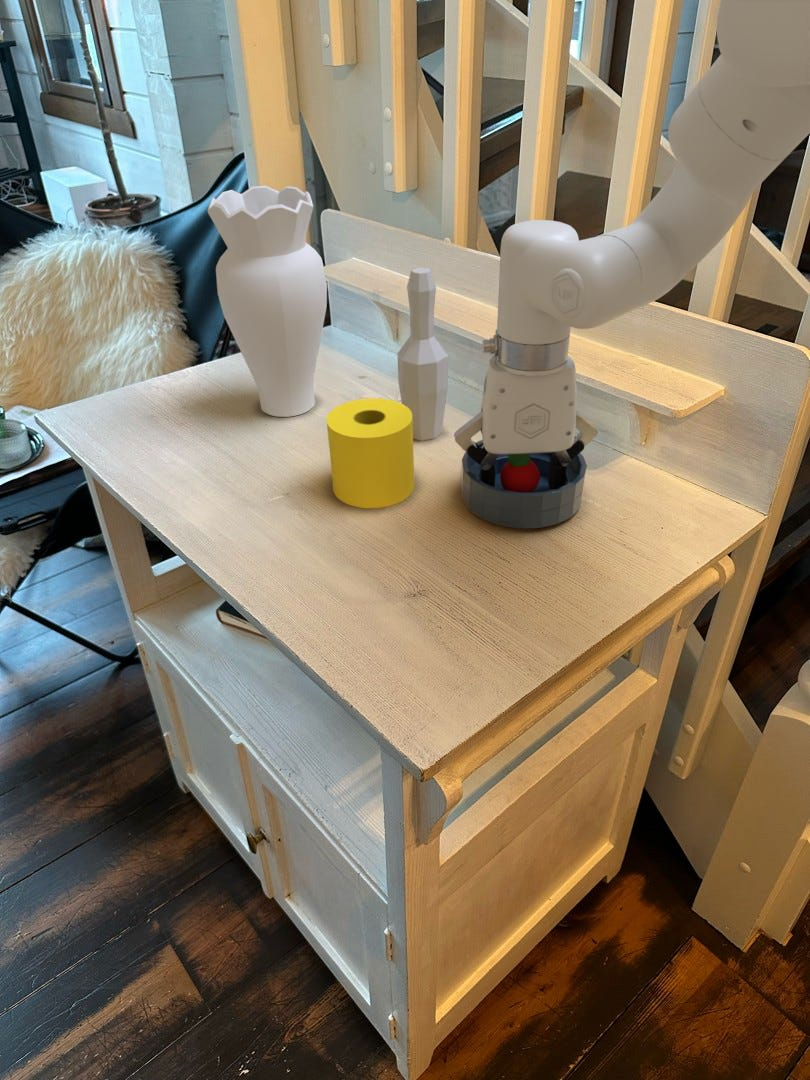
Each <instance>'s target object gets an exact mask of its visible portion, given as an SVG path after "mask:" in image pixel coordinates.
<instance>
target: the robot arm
mask: <svg viewBox="0 0 810 1080" xmlns="http://www.w3.org/2000/svg"><path fill="white" fill-rule="evenodd" d="M716 37H717V44H718V50H719V52H720V54H719V56H718V57H717V58H716V60H715V61H714V62H713V63H712V65H711V66H710V67H709V69H708V70H707V71H706V72H705V74H704V75H703V76H702V77H701V78H700V80H698V82H697V83H696V85H695V86H694V87H693V88H692V90H691V91H690V92H689V94H688V95H687V96H686V97H685V99H684V100H683V101H682V102H681V103H680V104H679V106H678V107H677V109H676V110H675V111H674V113H673V115H672V116H671V119H670V122H669V124H668V128H667V130H668V131H667V139H668V144H669V147H670V149H671V152H672V154H673V156H674V158H675V160H676V161H677V163H676V166H675V168H674V169H673V170H672V172H671V174H670V176H669V177H668V179H667V180H666V181H665V183H664V185H663V186H662V187H661V188H660V190H659V191H658V192H657V193H656V195H654V196H653V198H652V199H651V201H650V202H649V203H648V204H647V205H646V206H645V208H643V210H642V211H641V212H640V213H639V214H638V216H637V217H635V218H634V220H632V221H631V222H630V223H629V224H628V225H626V226H623V227H620V228H617V229H613V230H611V231H607V232H604V233H601V234H599V235H596V236H593V237H589V238H584V239H579V238H580V237H579V235H578V232H577V231H576V229H575V228H574V227H572V225H570V224H567V223H564V222H562V221H557V220H551V219H550V220H549V219H532V220H531V219H530V220H524V221H520V222H517V223H515V224H512V225H510V226H509V227H508V228H507V229H506V230H505V231H504V232H503V235H502V237H501V242H500V250H499V251H500V253H499V278H498V296H497V297H498V299H497V318H496V319H497V321H496V329H495V334H493V337H490V338H489V339H482V345H481V347H482V353H483V354H490V355H492V356H491V357H490V359H489V361H488V362H489V363H488V366H487V370H486V373H485V377H484V379H485V380H484V385H483V391H482V398H481V400H482V401H481V407H480V412H478V413H477V414H476V415H475V416H474V417H472V418H471V419H470V420H469V421H467V422H466V423H464V424H463V425H462V426H461V427H460V428H458V429H457V430H456V431H455V432H454V433H453V437H454V440H455V443H456V444H457V445H458V446H459V447H460V448H461V449H462V450H463V451H465V452H467V454H468V455H469V456H470V457H471V458H472V459H473V460H474V461H476V462H477V463H478V464H479V465H480V466H481V475H480V481H482V482H484V483H485V484H487V485H489V486H492V487H495V467H494V461H495V460H496V458H497V457H498V455H499V454H529V453H549V452H555V453H554V454H552V457H551V458H550V469H549V479H548V484H549V487H550V490H554V489H558V488H560V486H564V484H565V476H566V467H567V466H569V465H570V463H571V460H572V459H573V458H574V457H576V456H577V455H578V454H579V453H582V452H583V451H584V450H585V447H586V446H587V445H589V444H590V443H591V442H592V441H593V440H594V439H595V438H596V437H597V436H598V434H599V431H598V429H597V427H596V426H595V425H594V424H593V423H592V422H591V421H589V420H588V419H587V418H585V417H584V416H583V415H582V414H580V412H578V411H577V399H578V398H577V396H578V395H577V387H578V386H577V384H578V383H577V370H576V364H575V361H574V360H573V359H572V358H571V357H570V356H569V347H570V339H571V328H574V329H577V330H578V329H579V330H590V329H595V328H597V327H598V328H599V327H600V326H603V325H605V324H608V323H611V322H612V321H614V320H616V319H619V318H621V317H623V316H624V315H626V314H628V313H631V312H632V311H635V310H638V309H640V308H643V307H645V306H647V305H649V304H651V303H654V302H655V301H657V300H659V299H660V298H662V297H663V296H665V295H666V294H668V293H669V292H670V291H671V290H672V289H674V288H675V287H676V286H677V285H678V284H679V283H681V281H682V280H683V279H684V278H685V277H686V276H687V275H688V274H689V273H690V272H692V271H693V269H694V268H695V267H697V266H698V264H699V263H701V262H702V260H703V259H704V258H706V257H707V256H708V255H709V254H710V252H711V251H713V249H714V248H715V247H716V246H718V244H719V243H720V242H721V241H722V240H723V238H725V236H726V235H727V233H728V232H729V231H730V230H731V229H732V227H733V225H734V224H735V223H736V221H737V220H738V218H739V217H740V215H741V214H742V212H743V211H744V210H745V208H746V207H747V205H748V204H749V201H750V199H751V197H752V195H753V194H754V192H755V191H756V190H757V188H758V187H759V186H760V185H761V184H762V183H763V182H764V181H765V180H766V179H767V178H768V177H769V176H770V175H771V174H772V172H774V171H775V169H777V168H778V166H780V165H781V163H782V162H783V161H784V160H786V158H788V156H789V155H790V154H791V153H792V152H793V151H794V150H795V149H796V148H797V147H798V146H799V145H800V144H801V143H802V142H803V141H804V140H805V138H807V137H808V136H809V134H810V0H720V2H719V7H718V12H717V18H716ZM576 429H577V430H578V431H579V432H578V433H577V435H576ZM479 432H480V433H481V437H482V438H481V440H483V446H482V447H480V446H479V445H478V444H477V443H476V442H475V441H474V440H473V439H472V438H473V437H474V436H475V435H476V434H478V433H479Z"/></svg>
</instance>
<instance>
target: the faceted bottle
mask: <svg viewBox="0 0 810 1080" xmlns="http://www.w3.org/2000/svg"><path fill="white" fill-rule="evenodd" d="M406 290H407V291H406V292H407V297H408V304H409V305H408V306H409V323H410V324H409V325H410V326H409V327H410V329H409V330H410V331H409V332H410V336H409V337H408V338H407V340H406V341H405V342H404V343H403V345H402V346H401V348H400V349H399V350H398V352H397V376H398V377H397V378H398V388H399V394H400V398H401V404H403V405H405V406H407V407H408V408H409V409H410V410H411V412H412V419H413V440H414V439H415V440H418V441H427V440H434V439H435V438H437V437H439V436H440V435H441V434H442V433H443V424H444V419H445V411H446V405H447V404H446V402H447V397H448V396H447V395H448V388H449V355H448V353H447V352H446V351H445V350H444V348H443V346H442V345H441V344H440V343H439V341H438V340H437V339H436V336H435V303H436V293H437V286H436V283H435V280H434V277H433V272H432V270H431V269H430V268H427V267H416V268H413V269H411V270H410V274H409V277H408V280H407V285H406Z"/></svg>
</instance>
